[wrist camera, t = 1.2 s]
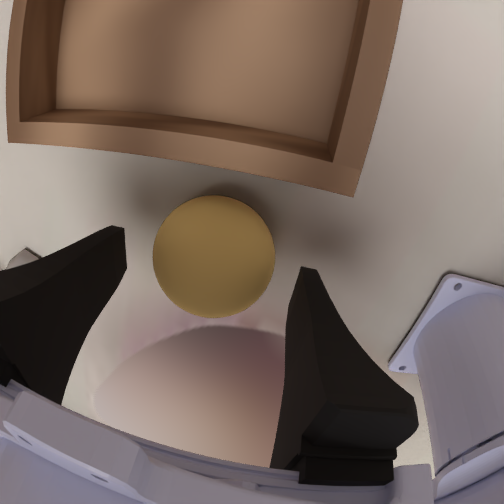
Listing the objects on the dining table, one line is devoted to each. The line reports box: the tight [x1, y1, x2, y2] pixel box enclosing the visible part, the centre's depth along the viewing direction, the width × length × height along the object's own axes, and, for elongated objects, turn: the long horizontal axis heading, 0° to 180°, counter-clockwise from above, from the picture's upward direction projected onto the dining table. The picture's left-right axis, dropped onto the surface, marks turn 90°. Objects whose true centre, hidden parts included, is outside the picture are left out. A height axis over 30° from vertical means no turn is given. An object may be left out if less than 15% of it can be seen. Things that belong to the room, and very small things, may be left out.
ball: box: [153, 195, 275, 318], centre depth 13 cm, size 5×5×5 cm
